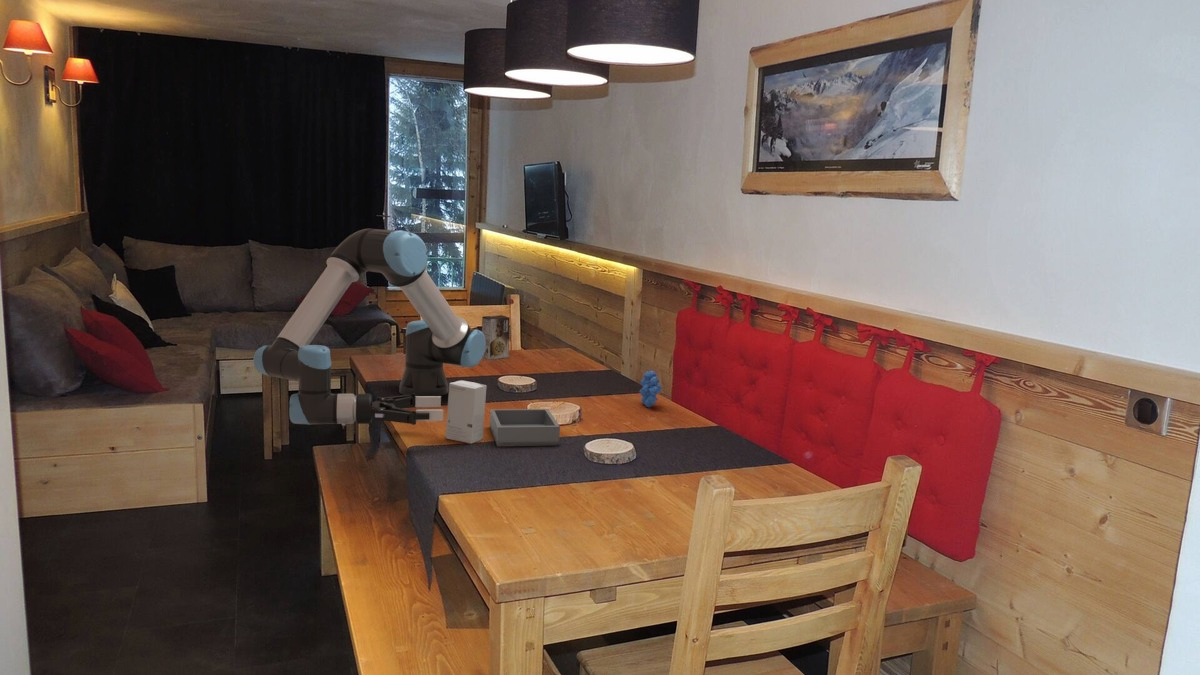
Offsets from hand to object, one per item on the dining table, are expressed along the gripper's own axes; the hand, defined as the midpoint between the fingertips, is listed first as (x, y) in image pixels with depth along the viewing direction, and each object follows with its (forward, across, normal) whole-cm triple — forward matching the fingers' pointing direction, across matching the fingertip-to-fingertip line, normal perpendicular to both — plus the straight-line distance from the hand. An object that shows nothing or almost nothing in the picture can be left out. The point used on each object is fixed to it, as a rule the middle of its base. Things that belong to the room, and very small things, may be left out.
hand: (442, 408), depth 214 cm
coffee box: (+26, -111, -9) cm, 114 cm away
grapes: (+66, -32, -9) cm, 74 cm away
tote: (+22, -3, -8) cm, 23 cm away
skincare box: (+6, 0, -9) cm, 11 cm away
